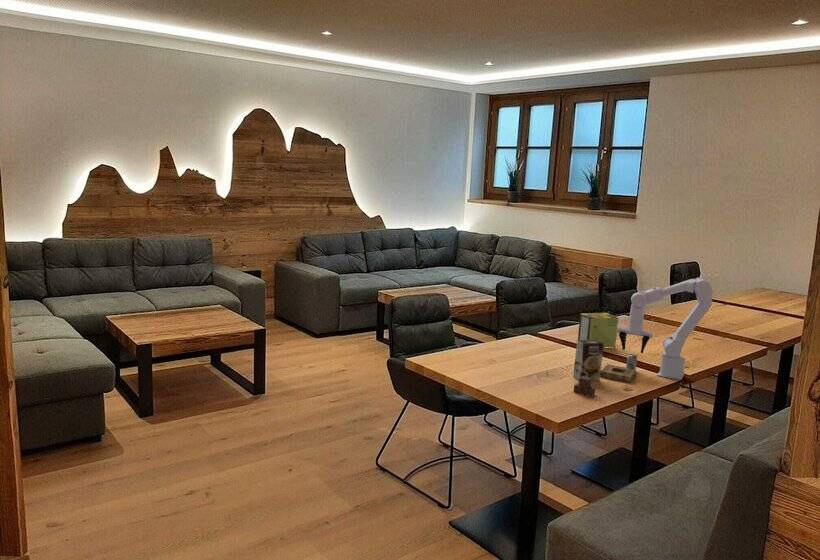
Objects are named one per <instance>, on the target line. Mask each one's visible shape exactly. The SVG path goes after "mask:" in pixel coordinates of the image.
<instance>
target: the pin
mask: <svg viewBox="0 0 820 560" xmlns="http://www.w3.org/2000/svg"><path fill="white" fill-rule="evenodd" d="M637 359H638V355H636V354H632V353H628V354H627V357H626V364H625V365H626V366H625V368H630V369H635V370H636V371H637V361H638V360H637Z"/></svg>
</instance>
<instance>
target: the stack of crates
mask: <svg viewBox="0 0 820 560" xmlns="http://www.w3.org/2000/svg"><path fill="white" fill-rule="evenodd" d="M591 379H592V378H590V377H586V376H582V377H580V378H579V380H578V381H579V382H578V383H576V384H573V385H574V386H573V393H575V394H579V393H580V395H583V394H584V395H583V396H586V395H588V396H587V397H590V396H591V397H593V396H594V394H596V387H593V386H592V381H591ZM592 395H593V396H592Z"/></svg>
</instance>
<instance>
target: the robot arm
mask: <svg viewBox="0 0 820 560" xmlns="http://www.w3.org/2000/svg"><path fill="white" fill-rule="evenodd" d="M683 292H688V293H692V294H693V293H695V296H696V299H697V303H696V304H695V306H694V307H693V308H692V309H691V310H690V312H689V314H688V315H687V316H686V318H685V319H684V320H683V321H682V323H681V324H680V325H679V327H678V328H677V330H676V331H675V332H674V333H672V334H671V335H670V336H669V337H668V338H665V340H663V342H662V347H663V349H664V350H663V352H662V353H661V359H660V360H661V361H660V369H659V371H658V373H657V376H658V377H664V378H667V379H672V380H673V379H674V380H679V381H681V380H682V379H683V377H684V376H685V375H684V374H685V367H686V365H685V364H686V358H685V357H682V356H681V352H682V348H683V347H684V346H685V343H686V340H687V339H688V338H689V336H690V335H691V333H692V332H693V331H694V329H695V328H696V327H697V326H698V324H699V323H700V322H701V320H702V319H703V317H704V316H705V315H706V313H707V312H708V311H709V310H710V309H711V307H712V304H713V303H712V302H713V292H714V290H713V288H712V286H711V283H710V282H709V281H708V280H707V279H706V278H705V277H704V278H703V277H701V276H698V277H696V278H690V279H687V280H683V281H681V282H678V283H675V284H673V285H669V286H667V287H664V288H662V287H660V286H658V287H656V286H652V288H650V289H647V290H640V292H635V293H633V294H632V296H631V297H630V300H631V301H630V302H631V305H630V309H629V310H630V311H629V319H628V320H629V321H628V327H617V334H618V337H619V340H620V343H621V348H622V351H625V350H626V341H627V337H628V335H633V336H639V337H642V338H641V349H640V354H644V350H645V348H646V345H647V343H648V342H649V340H650V339H653V337H654V333H653V332H650V331H646V330H643V328H644V318H645V306H646V305H650V304H653V303H656V302H660V301H663V300H664V299H665V298H666V297H667V296H670V295H674V294H677V293H683Z"/></svg>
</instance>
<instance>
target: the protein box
mask: <svg viewBox="0 0 820 560" xmlns="http://www.w3.org/2000/svg"><path fill="white" fill-rule="evenodd" d="M618 325H619V317H618V316H615V315H613V314H610V313H609V312H592V313H591V312H590V313H586V312H585V313H580V314H579V324H578V335H577V340H598V341H600V342H602V343H604V345H603V348H605V347H615V348H616V345H617V343H616V342H617V335H618V332H617V328H618Z"/></svg>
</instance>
